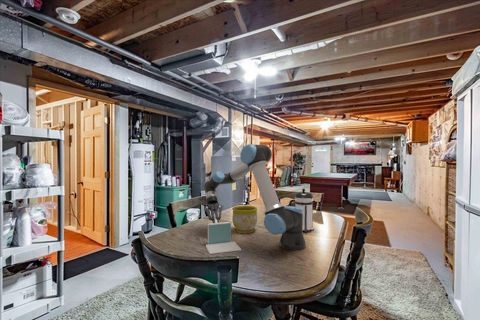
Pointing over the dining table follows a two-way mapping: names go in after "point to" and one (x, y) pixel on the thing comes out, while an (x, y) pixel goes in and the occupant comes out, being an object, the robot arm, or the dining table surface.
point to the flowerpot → (244, 218)
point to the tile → (219, 232)
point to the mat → (222, 247)
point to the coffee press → (305, 208)
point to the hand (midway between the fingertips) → (217, 229)
